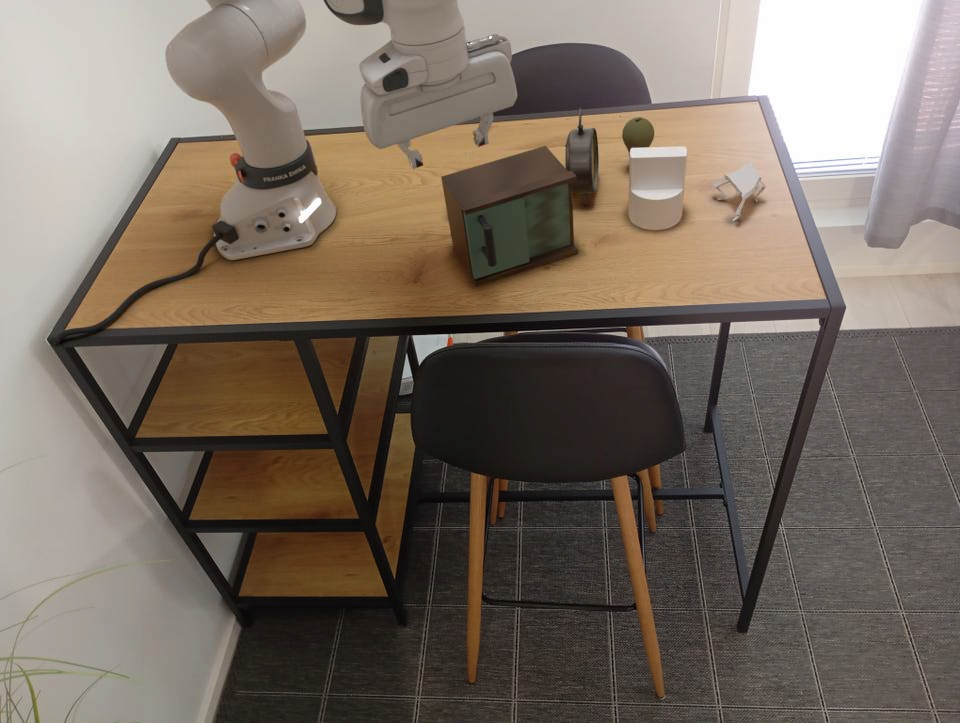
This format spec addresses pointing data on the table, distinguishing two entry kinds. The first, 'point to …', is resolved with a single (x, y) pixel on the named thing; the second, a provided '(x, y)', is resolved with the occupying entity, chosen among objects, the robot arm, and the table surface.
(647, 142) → the olive green rounded piece
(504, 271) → the brown wooden cabinet
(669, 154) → the base with upright slab
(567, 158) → the alarm clock
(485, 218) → the green sliding door
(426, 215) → the table surface
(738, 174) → the white flat-topped legged piece
